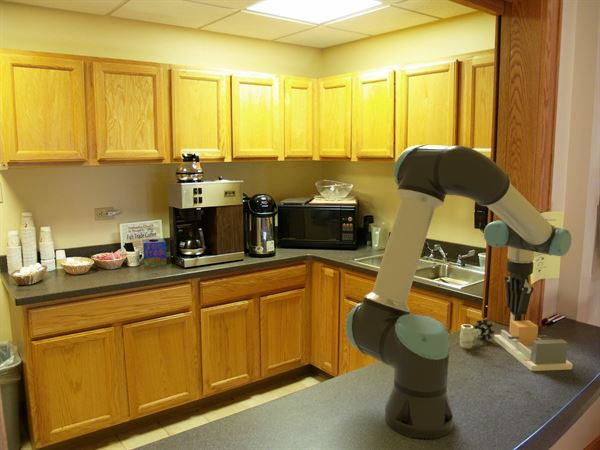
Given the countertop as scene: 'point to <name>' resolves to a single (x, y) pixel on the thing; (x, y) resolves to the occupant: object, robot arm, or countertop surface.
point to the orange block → (524, 332)
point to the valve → (474, 333)
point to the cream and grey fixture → (537, 352)
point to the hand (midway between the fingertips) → (514, 332)
